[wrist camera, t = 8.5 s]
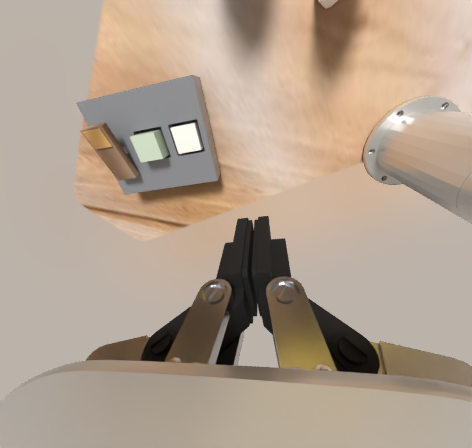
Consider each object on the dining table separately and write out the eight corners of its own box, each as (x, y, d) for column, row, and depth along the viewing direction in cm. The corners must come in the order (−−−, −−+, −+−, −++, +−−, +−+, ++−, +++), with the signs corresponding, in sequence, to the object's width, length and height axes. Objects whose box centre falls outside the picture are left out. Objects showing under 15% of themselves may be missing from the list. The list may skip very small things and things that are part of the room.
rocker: (105, 122, 26) (100, 126, 25) (139, 173, 32) (135, 178, 31) (85, 126, 26) (79, 131, 25) (121, 176, 32) (118, 181, 31)
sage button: (162, 128, 29) (153, 132, 26) (170, 153, 31) (163, 158, 28) (140, 133, 30) (129, 136, 27) (150, 156, 32) (140, 162, 29)
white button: (199, 120, 29) (194, 123, 27) (205, 145, 31) (201, 149, 29) (177, 125, 30) (170, 127, 27) (184, 148, 32) (178, 153, 29)
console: (199, 77, 28) (190, 74, 23) (220, 172, 35) (216, 183, 31) (95, 102, 30) (70, 103, 26) (136, 185, 38) (121, 196, 34)
